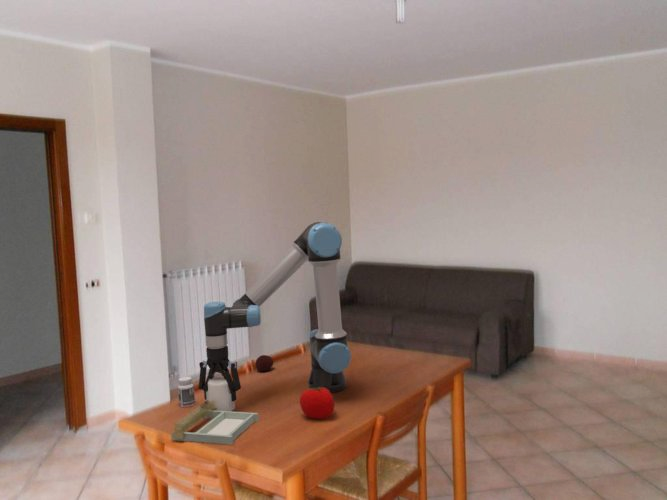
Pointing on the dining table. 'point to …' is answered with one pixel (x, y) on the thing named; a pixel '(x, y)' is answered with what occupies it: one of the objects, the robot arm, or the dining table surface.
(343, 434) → the dining table surface
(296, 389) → the dining table surface
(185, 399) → the pill bottle
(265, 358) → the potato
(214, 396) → the grey cylindrical container
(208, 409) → the bar
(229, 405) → the robot arm
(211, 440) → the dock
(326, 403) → the tomato
